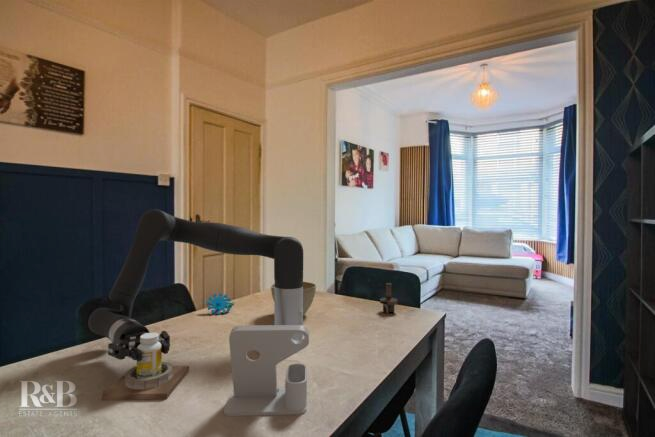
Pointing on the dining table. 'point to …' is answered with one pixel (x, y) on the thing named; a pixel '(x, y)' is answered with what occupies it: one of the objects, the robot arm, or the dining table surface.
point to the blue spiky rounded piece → (220, 304)
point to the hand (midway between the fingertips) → (153, 353)
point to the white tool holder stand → (266, 371)
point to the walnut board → (146, 393)
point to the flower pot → (307, 294)
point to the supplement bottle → (149, 356)
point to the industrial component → (388, 300)
